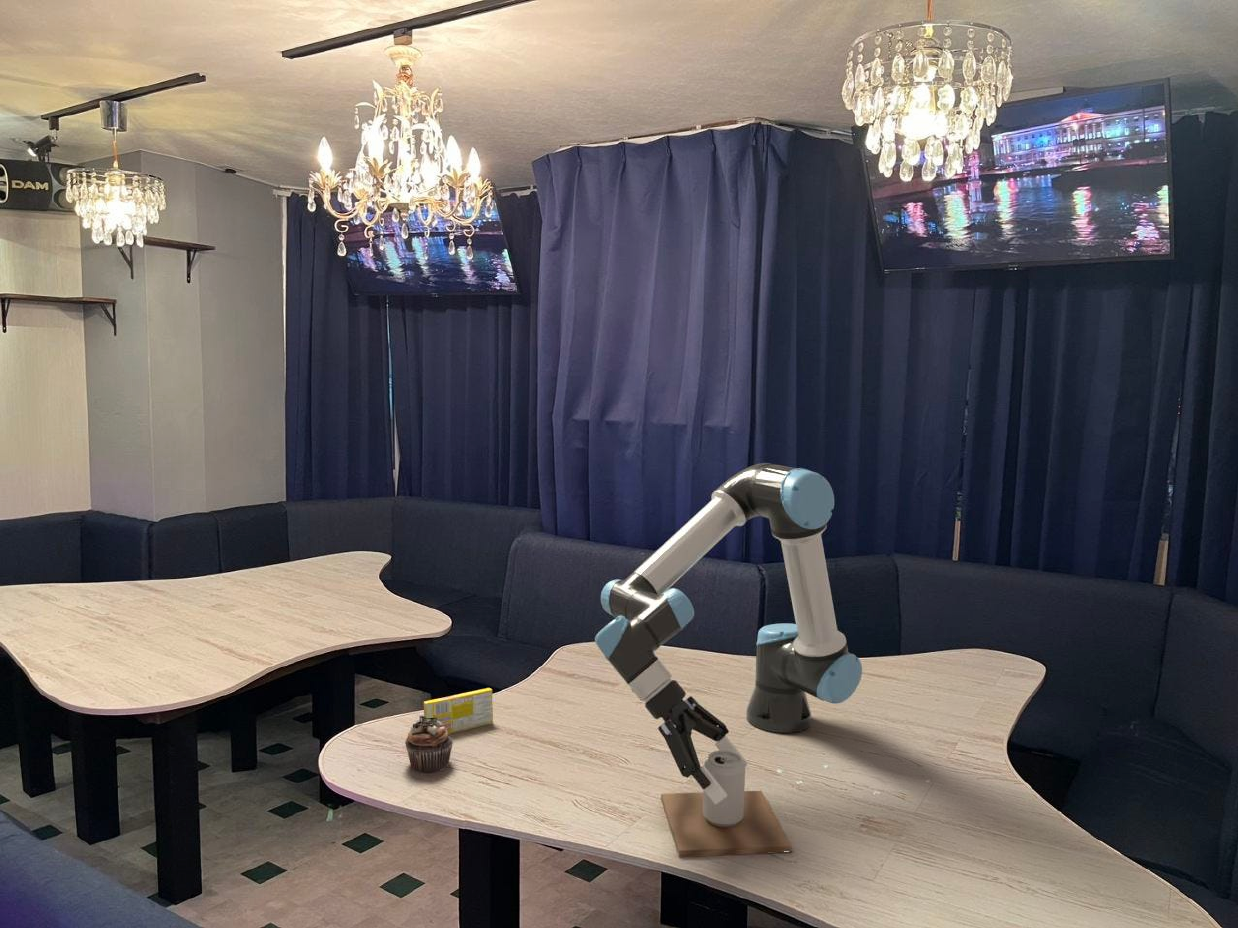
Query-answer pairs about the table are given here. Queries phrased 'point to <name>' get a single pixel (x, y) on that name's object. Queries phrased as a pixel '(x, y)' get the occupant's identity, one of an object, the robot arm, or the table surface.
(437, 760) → the cupcake
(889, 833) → the table surface
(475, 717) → the candy box
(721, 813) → the can
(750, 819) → the walnut board
